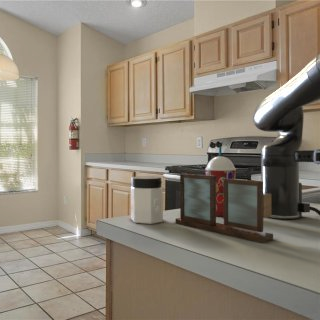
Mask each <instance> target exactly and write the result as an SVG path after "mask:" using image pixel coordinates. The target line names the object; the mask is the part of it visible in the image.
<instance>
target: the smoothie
mask: <svg viewBox="0 0 320 320" xmlns="http://www.w3.org/2000/svg"><path fill="white" fill-rule="evenodd" d="M222 152H223V151H222V146H218V155H217V156H215V157H213V158H211V159H210V160H209V161H208V163H207V165H206V167H205V168H204V169H205V175H213V176H216V217H224V179H236V172H237V171H236V170H237V168H236V167H235V165H234V163H233V162H232V160H231V159H230V158H229V157H225V156H222V155H223V154H222Z"/></svg>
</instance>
